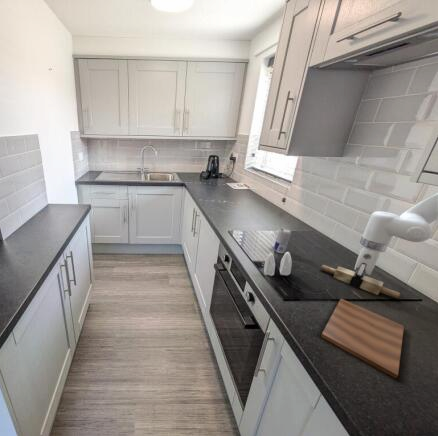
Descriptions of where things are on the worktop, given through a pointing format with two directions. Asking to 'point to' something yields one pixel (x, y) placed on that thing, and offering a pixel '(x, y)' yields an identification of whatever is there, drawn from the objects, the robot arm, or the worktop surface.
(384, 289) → the rolling pin
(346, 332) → the pastry board
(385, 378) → the worktop surface
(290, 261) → the shaker set
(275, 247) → the energy drink
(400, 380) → the worktop surface
